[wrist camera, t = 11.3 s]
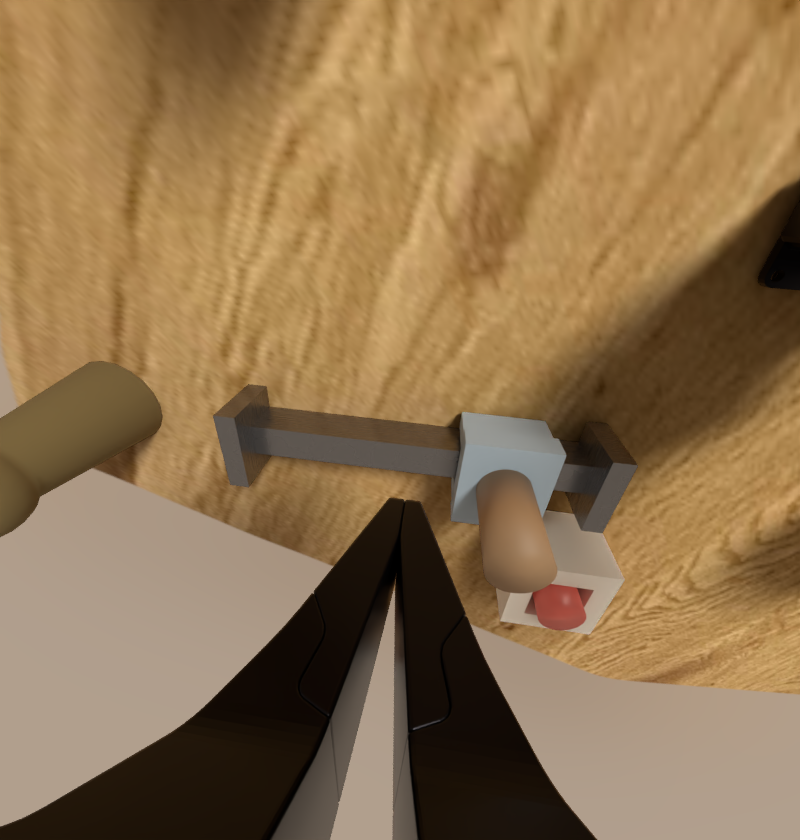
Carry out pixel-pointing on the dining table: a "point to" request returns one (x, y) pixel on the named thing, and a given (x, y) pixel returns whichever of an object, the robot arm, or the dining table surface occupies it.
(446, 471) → the rail
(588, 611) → the socket block
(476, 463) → the carriage
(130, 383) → the olive pepper mill
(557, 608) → the button
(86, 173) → the dining table surface
